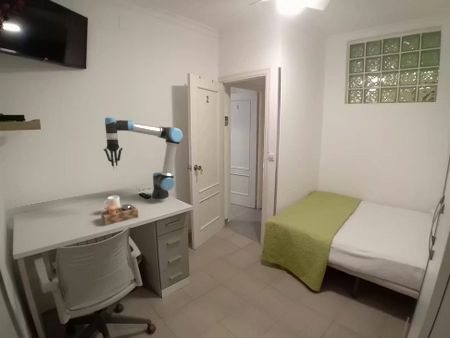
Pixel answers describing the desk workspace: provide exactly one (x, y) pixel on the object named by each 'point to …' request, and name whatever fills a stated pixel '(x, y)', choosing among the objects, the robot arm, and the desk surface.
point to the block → (119, 215)
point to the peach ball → (111, 209)
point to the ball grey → (126, 207)
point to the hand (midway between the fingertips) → (115, 170)
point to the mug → (113, 201)
